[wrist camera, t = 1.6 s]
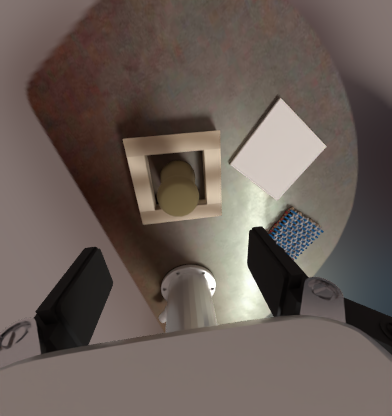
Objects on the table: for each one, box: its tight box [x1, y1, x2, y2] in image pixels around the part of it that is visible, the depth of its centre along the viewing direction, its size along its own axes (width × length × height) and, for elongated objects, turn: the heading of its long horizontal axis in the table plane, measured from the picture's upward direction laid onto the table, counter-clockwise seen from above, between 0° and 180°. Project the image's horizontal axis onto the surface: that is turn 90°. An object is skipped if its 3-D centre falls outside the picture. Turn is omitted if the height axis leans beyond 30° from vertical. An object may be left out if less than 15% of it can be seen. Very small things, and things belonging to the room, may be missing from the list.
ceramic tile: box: [230, 98, 326, 200], centre depth 30 cm, size 12×12×1 cm
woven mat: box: [268, 207, 324, 260], centre depth 37 cm, size 10×11×2 cm
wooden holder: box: [123, 130, 222, 225], centre depth 29 cm, size 14×14×2 cm
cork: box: [157, 160, 199, 217], centre depth 25 cm, size 6×6×11 cm
